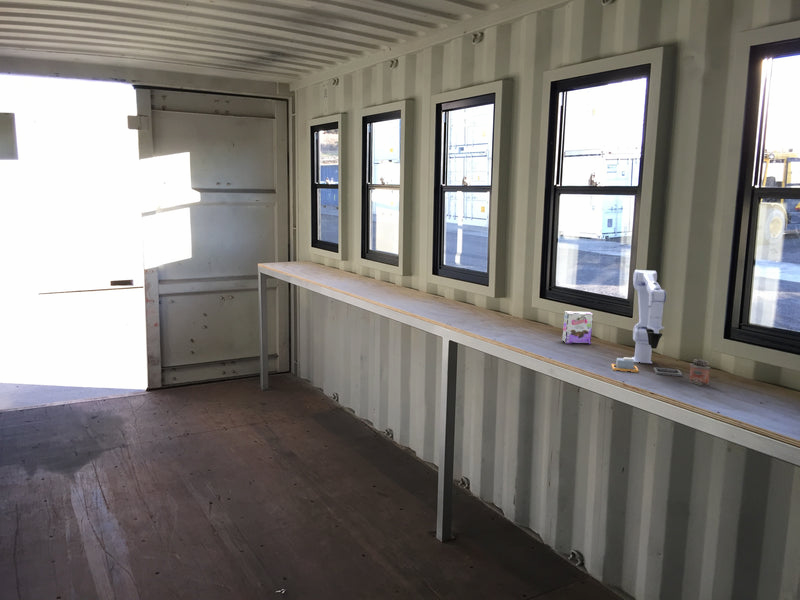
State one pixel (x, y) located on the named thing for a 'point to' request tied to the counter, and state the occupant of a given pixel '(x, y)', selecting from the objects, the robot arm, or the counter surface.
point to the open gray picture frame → (667, 370)
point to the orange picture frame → (624, 369)
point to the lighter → (699, 372)
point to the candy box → (577, 327)
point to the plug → (625, 363)
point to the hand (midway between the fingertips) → (652, 346)
